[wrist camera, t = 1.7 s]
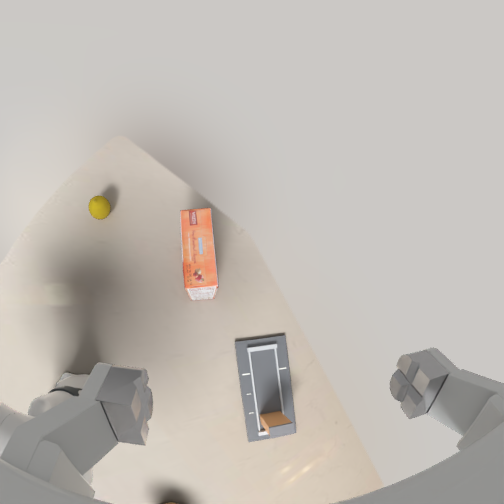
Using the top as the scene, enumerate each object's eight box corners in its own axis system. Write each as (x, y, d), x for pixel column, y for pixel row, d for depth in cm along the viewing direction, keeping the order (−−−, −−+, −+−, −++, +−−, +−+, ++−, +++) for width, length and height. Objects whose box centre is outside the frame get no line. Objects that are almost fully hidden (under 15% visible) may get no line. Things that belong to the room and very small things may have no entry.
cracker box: (184, 244, 67) (178, 208, 47) (209, 242, 68) (213, 206, 48) (189, 301, 63) (183, 288, 44) (214, 299, 65) (220, 285, 45)
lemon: (113, 202, 66) (104, 188, 59) (114, 221, 65) (105, 208, 58) (94, 206, 65) (84, 193, 57) (95, 225, 64) (84, 213, 56)
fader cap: (281, 419, 58) (294, 433, 48) (260, 423, 57) (270, 438, 47) (280, 410, 59) (293, 422, 49) (259, 414, 58) (269, 428, 48)
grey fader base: (295, 431, 58) (297, 433, 57) (248, 440, 56) (249, 443, 54) (284, 335, 65) (286, 335, 63) (234, 341, 63) (235, 342, 61)
